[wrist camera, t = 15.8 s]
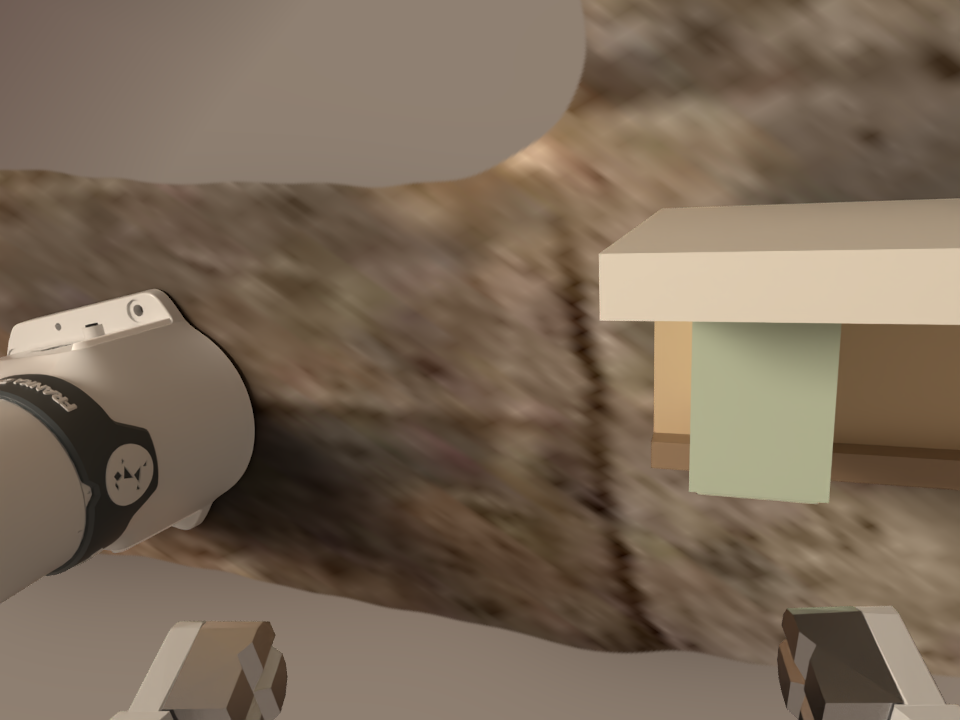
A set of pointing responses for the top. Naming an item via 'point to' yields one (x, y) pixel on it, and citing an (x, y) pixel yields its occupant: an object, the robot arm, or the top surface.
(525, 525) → the top surface
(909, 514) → the top surface
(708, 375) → the cabinet
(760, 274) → the wall board
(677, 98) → the top surface
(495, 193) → the top surface
